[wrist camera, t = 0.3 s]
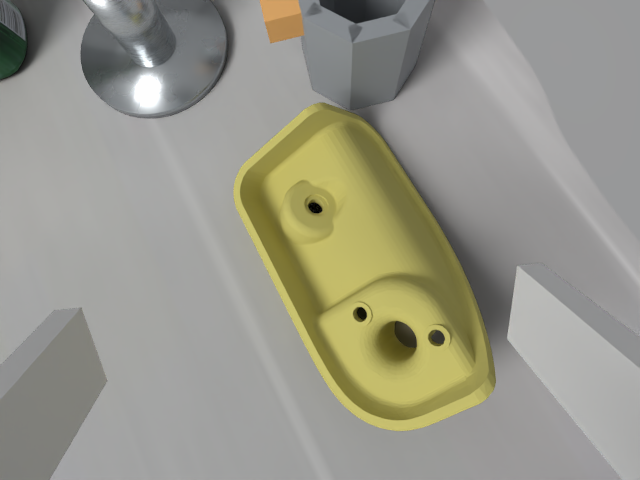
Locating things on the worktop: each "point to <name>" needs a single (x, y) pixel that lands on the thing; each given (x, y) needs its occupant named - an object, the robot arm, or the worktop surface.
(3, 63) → the coffee jar
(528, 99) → the worktop surface
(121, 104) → the duct stub
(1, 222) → the worktop surface
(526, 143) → the worktop surface
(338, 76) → the grey octagonal holder
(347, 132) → the plastic component
